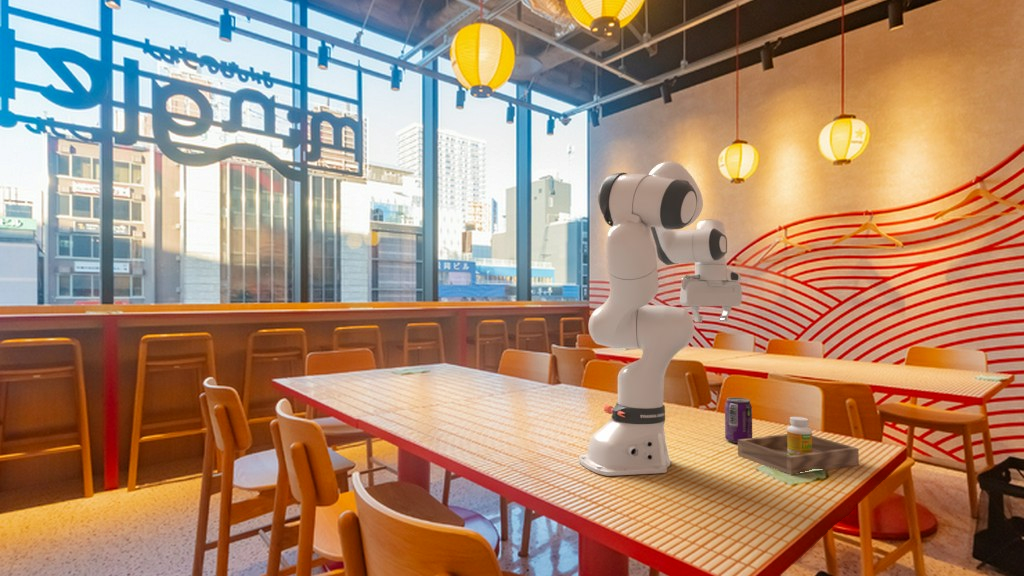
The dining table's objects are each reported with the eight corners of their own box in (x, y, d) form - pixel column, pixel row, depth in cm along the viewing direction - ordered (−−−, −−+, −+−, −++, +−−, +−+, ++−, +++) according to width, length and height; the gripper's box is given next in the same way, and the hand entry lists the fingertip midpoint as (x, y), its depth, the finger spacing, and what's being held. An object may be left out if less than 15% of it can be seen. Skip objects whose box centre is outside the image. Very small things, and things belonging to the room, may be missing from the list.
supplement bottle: (804, 462, 120) (803, 421, 120) (782, 456, 125) (782, 417, 125) (817, 458, 123) (816, 419, 123) (795, 453, 127) (795, 415, 128)
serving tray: (791, 475, 114) (791, 457, 114) (737, 455, 129) (737, 439, 129) (858, 464, 121) (858, 448, 121) (800, 447, 136) (800, 432, 136)
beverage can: (757, 445, 138) (756, 401, 138) (731, 445, 138) (730, 401, 138) (745, 438, 145) (745, 397, 145) (721, 438, 145) (720, 397, 146)
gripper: (689, 273, 141) (689, 322, 140) (745, 275, 148) (745, 321, 147) (674, 275, 147) (675, 321, 146) (729, 276, 154) (730, 320, 153)
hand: (711, 321), depth 147 cm, fingers open, 8 cm apart
